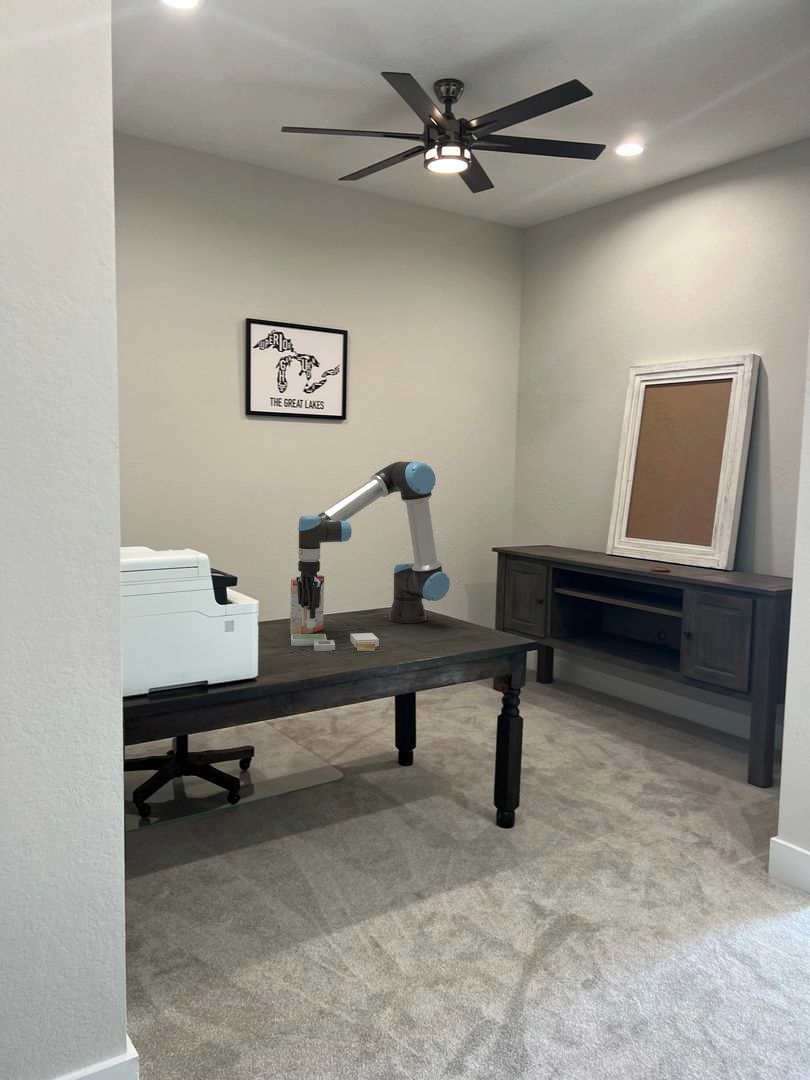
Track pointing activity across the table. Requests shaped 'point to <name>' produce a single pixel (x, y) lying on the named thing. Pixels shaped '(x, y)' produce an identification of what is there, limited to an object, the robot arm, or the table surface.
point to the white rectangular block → (364, 638)
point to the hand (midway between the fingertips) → (308, 626)
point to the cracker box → (297, 610)
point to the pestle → (306, 630)
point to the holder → (324, 645)
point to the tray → (306, 639)
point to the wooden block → (365, 645)
